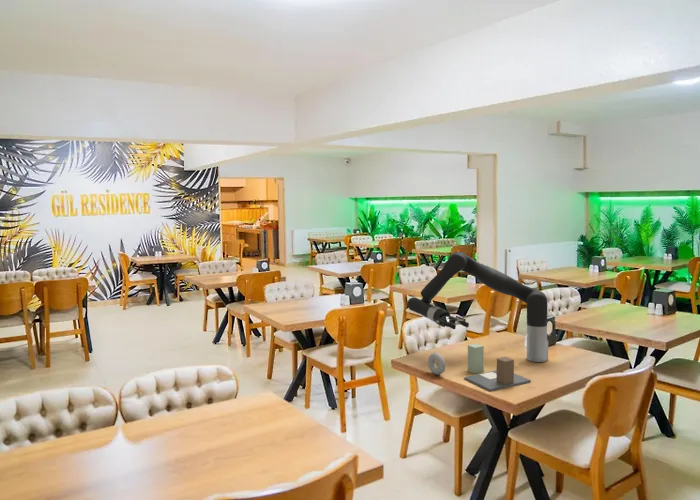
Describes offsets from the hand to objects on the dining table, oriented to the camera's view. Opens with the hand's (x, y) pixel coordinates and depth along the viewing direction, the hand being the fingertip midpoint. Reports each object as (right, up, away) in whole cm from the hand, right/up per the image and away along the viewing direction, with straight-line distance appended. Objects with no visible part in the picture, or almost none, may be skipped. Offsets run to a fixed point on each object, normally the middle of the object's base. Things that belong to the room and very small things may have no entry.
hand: (461, 326), depth 250 cm
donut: (-13, -21, -9) cm, 26 cm away
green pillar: (+5, -20, -6) cm, 21 cm away
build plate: (+11, -21, -19) cm, 30 cm away
